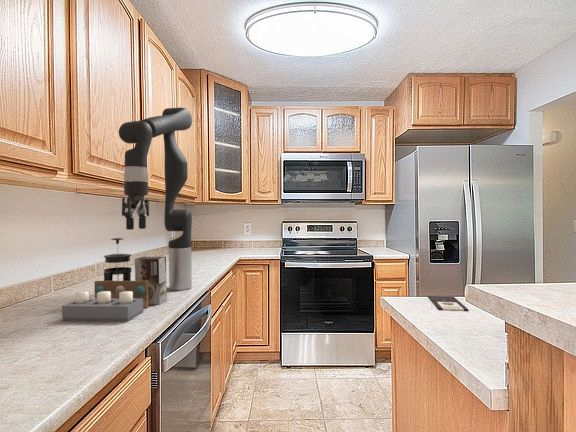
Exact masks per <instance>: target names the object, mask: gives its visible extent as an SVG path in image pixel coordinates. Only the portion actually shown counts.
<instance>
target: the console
mask: <svg viewBox="0 0 576 432" xmlns="http://www.w3.org/2000/svg"><path fill="white" fill-rule="evenodd" d="M61 313H62V317H61V319H62V320H61V321H62V322H108V323H109V322H112V323H113V322H115V323H116V322H119V323H120V322H121V323H122V322H123V323H124V322H126V323H127V322H130V321H132V320H133V319H135V318H136V317H138V316H140V315H142V314H143V313H144V308H143V298H133V303H131V304H119V298H111V302H110V303H108V304H97V298H95V297H89V302H88V303H86V304H75V300H74V301H72V302H69V303H66V304H64V305H62V306H61Z"/></svg>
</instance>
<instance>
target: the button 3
mask: <svg viewBox="0 0 576 432" xmlns="http://www.w3.org/2000/svg"><path fill="white" fill-rule="evenodd" d="M131 303H133V292H132V291H124V292H120V293H119V304H131Z"/></svg>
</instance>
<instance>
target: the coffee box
mask: <svg viewBox="0 0 576 432" xmlns="http://www.w3.org/2000/svg"><path fill="white" fill-rule="evenodd" d="M134 281H148V305H161V304H163V303H165V302H167V300H168V295H167V294H168V293H167V291H168V290H167V289H168V287H167V256H141V257H137V258H135V259H134Z"/></svg>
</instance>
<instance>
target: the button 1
mask: <svg viewBox="0 0 576 432" xmlns="http://www.w3.org/2000/svg"><path fill="white" fill-rule="evenodd" d="M89 298H90V291H89V290H80V291H75V292H74V301H75V304H86V303H88V302H89Z"/></svg>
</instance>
